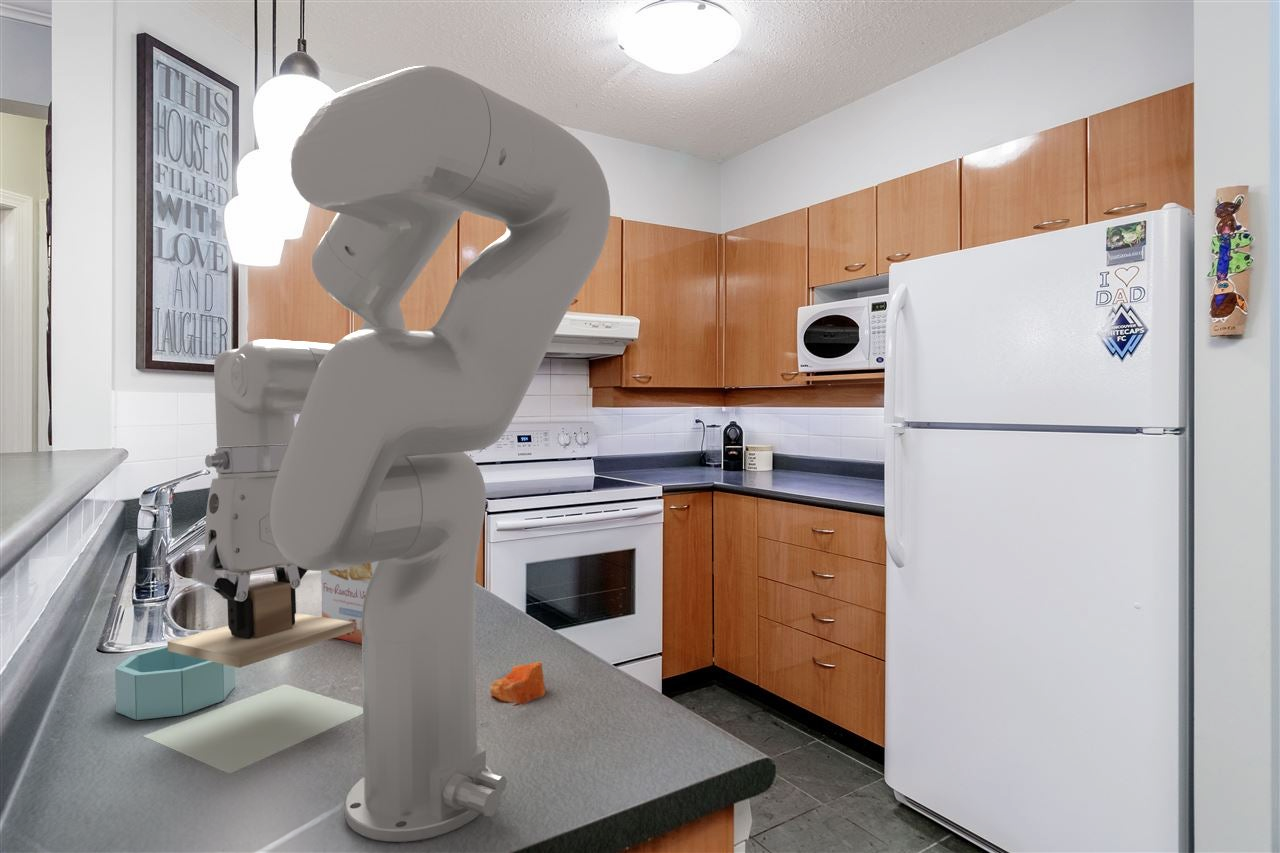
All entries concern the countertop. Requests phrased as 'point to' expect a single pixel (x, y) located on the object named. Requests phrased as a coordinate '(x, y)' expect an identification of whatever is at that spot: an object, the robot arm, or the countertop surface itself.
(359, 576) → the cracker box
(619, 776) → the countertop surface
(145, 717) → the bowl
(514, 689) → the rock
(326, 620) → the lid
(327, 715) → the mat
